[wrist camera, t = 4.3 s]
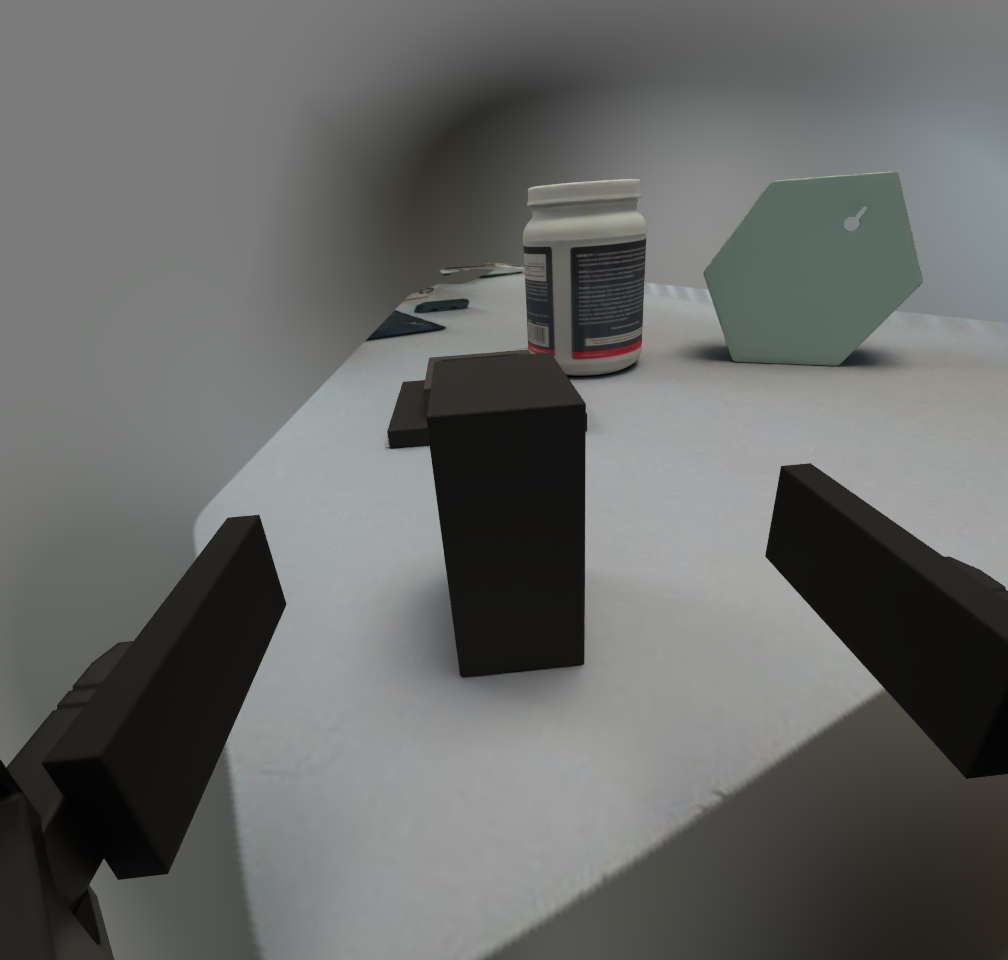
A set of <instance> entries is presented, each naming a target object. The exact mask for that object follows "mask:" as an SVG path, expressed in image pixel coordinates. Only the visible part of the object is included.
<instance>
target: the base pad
mask: <svg viewBox="0 0 1008 960" xmlns="http://www.w3.org/2000/svg"><path fill="white" fill-rule="evenodd" d="M522 354H531V353H530V351H529V350H520V351H507V352H495V353H482V354H470V355H457V356H445V357H433V358H429V363H428V368H427V373H426V379H425V380H422V381H410V382H403V384H402V387H401V390H400V393H399V397H398V400H397V403H396V406H395V409H394V412H393V416H392V419H391V422H390V425H389V428H388V431H387V432H388V438H389V444H390V448H397V447H408V446H420V445H430V443H429V436H428V428H427V421H426V416H427V409H428V402H429V396H430V389H431V382H432V375H433V369H434V363H435V362H436V361H448V360H460V359H473V358H485V357H498V356H510V355H522ZM585 431H587V413H586V412H585Z"/></svg>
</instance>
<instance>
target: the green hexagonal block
mask: <svg viewBox="0 0 1008 960" xmlns="http://www.w3.org/2000/svg"><path fill="white" fill-rule="evenodd" d="M864 206H868V208H867V210H866V211H865V213H864V214H863V215H862V216H861V218H860V219H859V221H860V225H859V227H858V228H857V229H856V230H854V231H848V230H846V229H845V228H844V221H845V220H846V219H847V218H848V217H851V216H855V215H856V214H857V213H858V212H859V211H860V210H861V209H862V208H863V207H864ZM704 277H705V280H706V283H707V286H708V289H709V292H710V295H711V298H712V301H713V304H714V307H715V310H716V313H717V316H718V319H719V322H720V325H721V328H722V331H723V334H724V337H725V340H726V343H727V346H728V349H729V351H730V354H731V357H732V359H733V360H734V361H736V362H753V363H778V364H804V365H829V366H838V365H840V364H841V363H842V362H843V361H844V360H845V359H846V358H847V357H848V356H849V355H850V354H851V353H852V352H853V351H854V350H855V349H856V348H857V347H858V346H859V345H860V344H861V343H862V342H863V341H864V340H865V339H866V338H867V337H868V336H869V335H870V334H871V333H872V332H873V331H874V330H875V329H876V328H877V327H878V326H879V325H880V324H881V323H883V322H884V321H885V320H886V319H887V318H888V317H889V316H890V315H891V314H892V313H893V312H894V311H895V310H896V309H897V308H898V307H899V306H900V305H901V304H902V303H903V302H904V301H905V300H906V299H907V298H908V297H909V296H910V295H911V294H912V293H913V292H914V291H915V290H916V289H917V288H918V287H919V286H920V285H921V284H922V282H923V279H922V274H921V270H920V266H919V261H918V257H917V253H916V248H915V244H914V240H913V235H912V231H911V226H910V222H909V218H908V213H907V209H906V204H905V200H904V196H903V191H902V187H901V183H900V179H899V174H898V173H897V172H895V171H892V172H879V173H866V174H854V175H839V176H827V177H814V178H801V179H789V180H775V181H771V182H770V183H769V184H768V185H767V187H766V188H765V189H764V191H763V192H762V193H761V195H760V196H759V198H758V199H757V200H756V202H755V203H754V204H753V206H752V207H751V208H750V210H749V211H748V213H747V214H746V215H745V216H744V218H743V219H742V220H741V222H740V223H739V225H738V226H737V227H736V229H735V230H734V231H733V233H732V234H731V235H730V237H729V238H728V239H727V241H726V242H725V244H724V245H723V246H722V248H721V249H720V250H719V252H718V253H717V254H716V256H715V257H714V258H713V260H712V261H711V262H710V264H709V265H708V267H707V268H706V269H705V271H704Z"/></svg>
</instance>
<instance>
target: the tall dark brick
mask: <svg viewBox="0 0 1008 960" xmlns="http://www.w3.org/2000/svg"><path fill="white" fill-rule="evenodd" d="M585 410H586V404H585V402H584V401H583V399H582V398H581V396H580V395H579V393H578V392H577V391H576V389H575V388H574V386H573V385H572V383H571V382H570V380H569V379H568V377H567V376H566V374H565V373H564V371H563V370H562V368H561V367H560V365H559V364H558V362H557V361H556V359H555V358H554V357H553V355H552V354H551V353H550V352H547V353H535V354H522V355H510V356H498V357H485V358H473V359H460V360H448V361H436V362H435V363H434V369H433V375H432V382H431V389H430V396H429V402H428V409H427V416H426V421H427V428H428V436H429V443H430V451H431V458H432V466H433V473H434V481H435V488H436V496H437V503H438V511H439V519H440V526H441V534H442V541H443V549H444V556H445V564H446V571H447V579H448V586H449V594H450V601H451V609H452V616H453V624H454V631H455V639H456V647H457V654H458V662H459V669H460V675H461V677H465V676H475V675H484V674H493V673H503V672H512V671H522V670H531V669H541V668H550V667H560V666H569V665H579V664H584V616H585Z"/></svg>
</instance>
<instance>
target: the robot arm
mask: <svg viewBox="0 0 1008 960" xmlns="http://www.w3.org/2000/svg"><path fill="white" fill-rule="evenodd" d="M765 557H766V558H767V559H768V560H769V561H770V562H771V563H772V564H773V565H774V566H775V568H776V569H777V570H778V571H779V572H780V573H781V574H782V575H783V576H784V578H785V579H786V580H787V581H788V582H789V583H790V584H791V585H792V586H793V587H794V589H795V590H796V591H797V592H798V593H799V594H800V595H801V596H802V597H803V599H804V600H805V601H806V602H807V603H808V604H809V605H810V606H811V607H812V609H813V610H814V611H815V612H816V613H817V614H818V615H819V616H820V617H821V618H822V620H823V621H824V622H825V623H826V624H827V625H828V626H829V627H830V628H831V630H832V631H833V632H834V633H835V634H836V635H837V636H838V637H839V638H840V639H841V641H842V642H843V643H844V644H845V645H846V646H847V647H848V648H849V649H850V651H851V652H852V653H853V654H854V655H855V656H856V657H857V658H858V659H859V660H860V662H861V663H862V664H863V665H864V666H865V667H866V668H867V669H868V670H869V672H870V673H871V674H872V675H873V676H874V677H875V678H876V679H877V680H878V682H879V683H880V684H881V685H882V686H883V687H884V688H885V689H886V690H887V691H888V693H889V694H890V695H891V696H892V697H893V698H894V699H895V700H896V701H897V703H898V704H900V706H901V707H902V708H903V709H904V710H905V711H906V712H907V714H908V715H909V716H910V717H911V718H912V719H913V720H914V721H915V722H916V723H917V725H918V726H919V727H920V728H921V729H922V730H923V731H924V732H925V733H926V735H927V736H928V737H929V738H930V739H931V740H932V741H933V742H934V743H935V745H936V746H937V747H938V748H939V749H940V750H941V751H942V752H943V753H944V754H945V755H946V757H947V758H948V759H949V760H950V761H951V762H952V763H953V764H954V766H955V767H956V768H957V769H958V770H959V771H960V772H961V773H962V774H963V775H964V777H965V778H966V779H968V778H977V777H985V776H994V775H1002V774H1008V591H1006V589H1005V586H1003V585H1002V584H1000V583H999V582H997V581H996V580H994V579H993V578H991V577H990V576H988V575H987V574H985V573H984V572H982V571H981V570H979V569H977V568H974V567H972V566H970V565H967V564H965V563H963V562H961V561H958V560H956V559H954V558H951V557H943V556H942V555H940V554H939V553H937V552H936V551H935V550H933V549H932V548H930V547H929V546H927V545H926V544H925V543H923V542H922V541H920V540H919V539H917V538H916V537H915V536H913V535H912V534H910V533H909V532H907V531H906V530H905V529H903V528H902V527H900V526H899V525H897V524H896V523H895V522H893V521H892V520H890V519H889V518H888V517H886V516H885V515H883V514H882V513H880V512H879V511H878V510H876V509H875V508H873V507H872V506H870V505H869V504H868V503H866V502H865V501H863V500H862V499H860V498H859V497H858V496H856V495H855V494H853V493H852V492H850V491H849V490H848V489H846V488H845V487H843V486H842V485H840V484H839V483H838V482H836V481H835V480H833V479H832V478H830V477H829V476H828V475H826V474H825V473H823V472H822V471H821V470H819V469H818V468H816V467H815V466H813V465H812V464H811V463H810V464H799V465H789V466H781V471H780V476H779V482H778V488H777V493H776V499H775V505H774V510H773V516H772V522H771V527H770V533H769V539H768V544H767V550H766V556H765ZM285 606H286V601H285V598H284V595H283V591H282V588H281V585H280V582H279V578H278V575H277V572H276V568H275V565H274V562H273V559H272V555H271V552H270V549H269V545H268V542H267V539H266V535H265V532H264V529H263V526H262V522H261V519H260V516H259V515H253V516H243V517H232V518H227V519H226V521H225V522H224V523H223V525H222V526H221V527H220V528H219V530H218V531H217V532H216V534H215V535H214V536H213V538H212V539H211V540H210V542H209V543H208V544H207V546H206V547H205V548H204V550H203V551H202V552H201V553H200V555H199V556H198V557H197V559H196V560H195V561H194V563H193V564H192V565H191V567H190V568H189V569H188V571H187V572H186V573H185V575H184V576H183V577H182V578H181V580H180V581H179V582H178V584H177V585H176V586H175V588H174V589H173V591H172V592H171V593H170V595H169V596H168V597H167V598H166V600H165V601H164V602H163V604H162V605H161V606H160V607H159V609H158V610H157V611H156V613H155V614H154V615H153V617H152V618H151V619H150V621H149V622H148V623H147V625H146V626H145V627H144V628H143V630H142V631H141V633H140V634H139V635H138V636H137V638H136V639H135V640H134V641H130V642H122V643H117V644H116V645H115V646H114V647H112V648H111V649H110V650H108V651H107V652H106V653H105V654H103V655H102V656H100V658H98V659H97V660H95V661H94V662H93V663H92V664H91V665H90V666H89V667H88V668H87V670H86V671H85V672H84V673H83V674H82V676H81V677H80V678H79V679H78V681H77V682H76V683H75V684H74V685H73V690H72V691H69V692H68V693H67V694H66V695H65V697H64V698H63V699H62V700H61V701H60V703H59V704H58V705H57V710H54V711H52V713H51V714H50V715H49V716H48V717H47V719H46V720H45V721H44V722H43V723H42V725H41V726H40V727H39V728H38V730H37V731H36V732H35V733H34V734H33V736H32V737H31V738H30V739H29V741H28V742H27V743H26V744H25V745H24V747H23V748H22V749H21V750H20V752H19V753H18V754H17V755H16V757H15V758H14V759H13V760H12V762H11V763H10V764H9V765H8V766H7V767H5V765H4V764H3V763H2V761H1V760H0V960H114V958H113V954H112V950H111V946H110V943H109V939H108V935H107V932H106V928H105V924H104V921H103V917H102V913H101V909H100V906H99V902H98V898H97V896H96V894H95V893H94V891H93V890H92V889H91V887H90V886H89V884H90V882H91V880H92V878H93V877H94V875H95V873H96V871H97V869H98V868H99V866H100V864H101V862H102V860H103V859H105V860H106V862H107V863H108V865H109V866H110V868H111V869H112V871H113V872H114V874H115V876H116V877H117V879H118V880H121V879H128V878H137V877H146V876H154V875H163V874H168V873H169V870H170V868H171V866H172V864H173V861H174V859H175V857H176V854H177V852H178V850H179V848H180V845H181V843H182V841H183V838H184V836H185V834H186V832H187V829H188V827H189V825H190V823H191V820H192V818H193V816H194V813H195V811H196V809H197V806H198V804H199V802H200V800H201V798H202V795H203V793H204V791H205V788H206V786H207V784H208V782H209V779H210V777H211V775H212V773H213V770H214V768H215V766H216V763H217V761H218V759H219V757H220V754H221V752H222V750H223V747H224V745H225V743H226V741H227V738H228V736H229V734H230V732H231V729H232V727H233V725H234V722H235V720H236V718H237V716H238V713H239V711H240V709H241V707H242V704H243V702H244V700H245V697H246V695H247V693H248V691H249V688H250V686H251V684H252V682H253V679H254V677H255V675H256V672H257V670H258V668H259V666H260V663H261V661H262V659H263V657H264V654H265V652H266V650H267V647H268V645H269V643H270V641H271V638H272V636H273V634H274V631H275V629H276V627H277V625H278V622H279V620H280V618H281V616H282V613H283V611H284V609H285Z"/></svg>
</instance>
